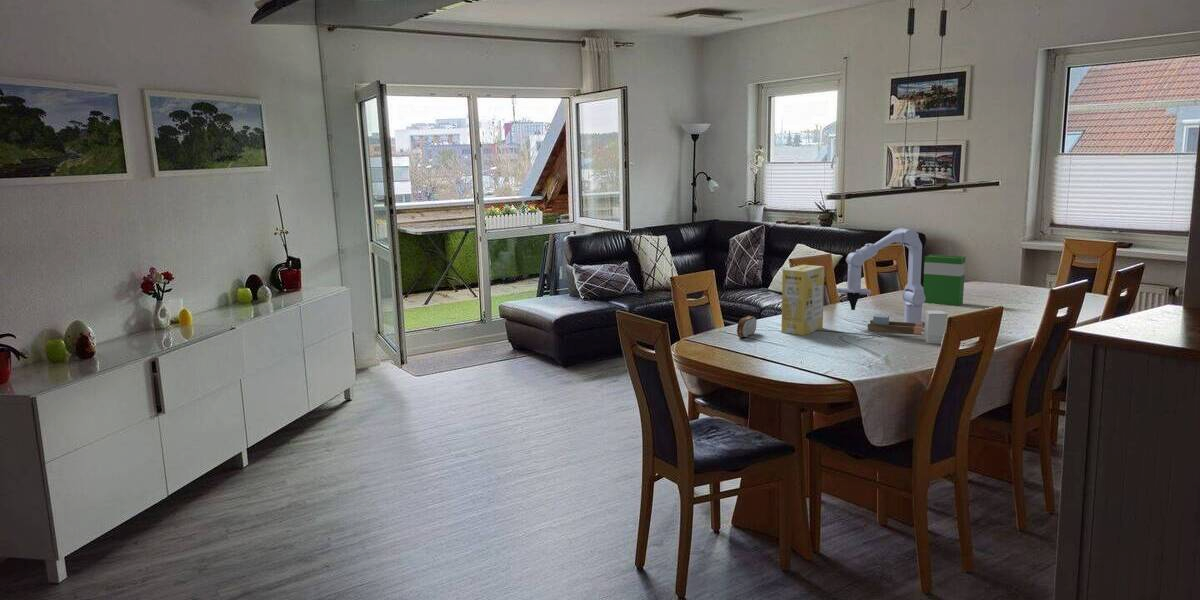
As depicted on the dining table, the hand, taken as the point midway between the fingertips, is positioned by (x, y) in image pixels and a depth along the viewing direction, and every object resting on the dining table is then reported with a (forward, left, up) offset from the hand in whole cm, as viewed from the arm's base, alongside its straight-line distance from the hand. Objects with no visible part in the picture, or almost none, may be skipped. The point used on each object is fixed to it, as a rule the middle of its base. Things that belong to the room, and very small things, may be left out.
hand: (853, 309), depth 362 cm
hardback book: (-72, +34, -9) cm, 80 cm away
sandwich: (+31, -40, -9) cm, 51 cm away
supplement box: (+16, +35, -9) cm, 39 cm away
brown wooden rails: (0, +18, -8) cm, 20 cm away
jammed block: (0, +12, -8) cm, 15 cm away
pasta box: (+12, -20, -9) cm, 25 cm away
